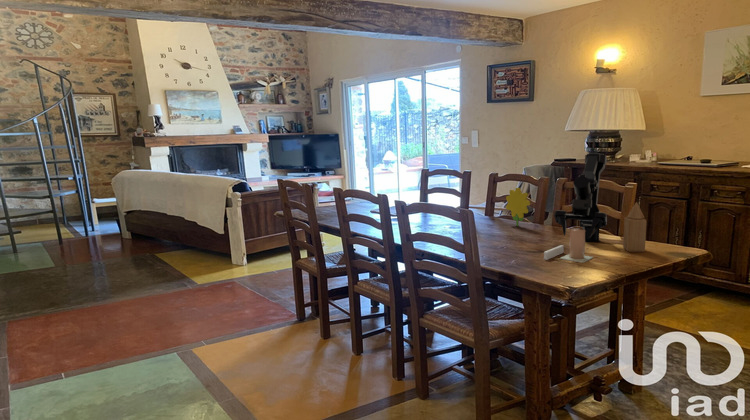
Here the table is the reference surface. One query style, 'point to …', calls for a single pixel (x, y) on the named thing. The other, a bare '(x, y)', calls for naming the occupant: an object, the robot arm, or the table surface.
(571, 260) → the tile
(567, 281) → the table surface
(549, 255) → the low wall
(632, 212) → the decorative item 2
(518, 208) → the decorative item
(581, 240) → the tan round cylinder
